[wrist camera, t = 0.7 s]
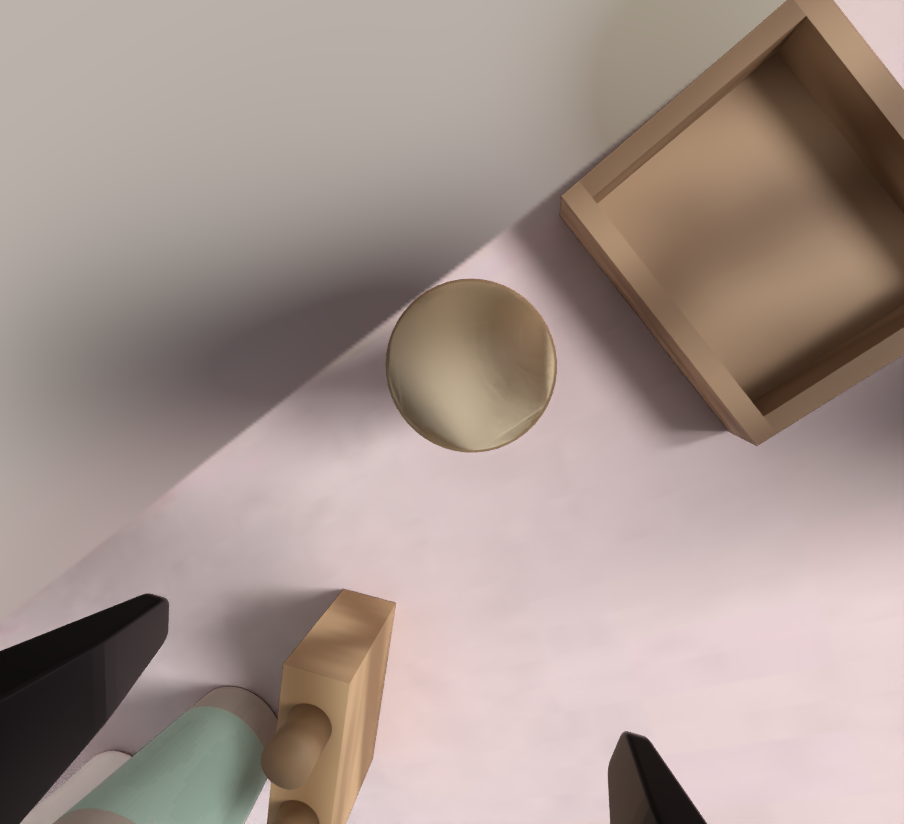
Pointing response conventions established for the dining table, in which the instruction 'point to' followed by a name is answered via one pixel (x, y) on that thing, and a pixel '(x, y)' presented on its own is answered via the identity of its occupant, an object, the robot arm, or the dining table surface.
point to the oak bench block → (329, 713)
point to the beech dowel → (471, 365)
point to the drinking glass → (76, 787)
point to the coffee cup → (189, 768)
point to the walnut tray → (763, 220)
